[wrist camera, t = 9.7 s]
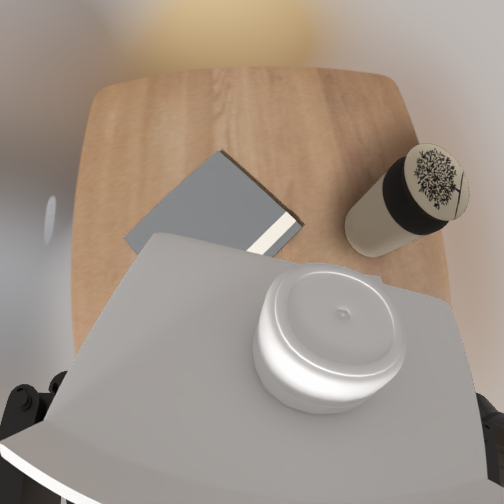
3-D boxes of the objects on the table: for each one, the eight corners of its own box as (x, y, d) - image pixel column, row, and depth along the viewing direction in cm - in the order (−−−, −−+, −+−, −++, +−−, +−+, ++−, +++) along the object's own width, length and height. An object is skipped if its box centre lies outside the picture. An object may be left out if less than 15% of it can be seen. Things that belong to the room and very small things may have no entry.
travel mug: (333, 235, 40) (390, 183, 22) (360, 191, 41) (418, 125, 23) (379, 268, 39) (458, 240, 21) (402, 223, 40) (478, 176, 23)
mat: (218, 152, 42) (218, 149, 41) (301, 228, 40) (302, 226, 39) (125, 239, 39) (123, 238, 39) (203, 325, 37) (202, 326, 37)
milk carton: (291, 400, 20) (419, 620, 1) (194, 379, 20) (35, 581, 1) (315, 306, 21) (580, 279, 2) (217, 283, 21) (58, 129, 2)
